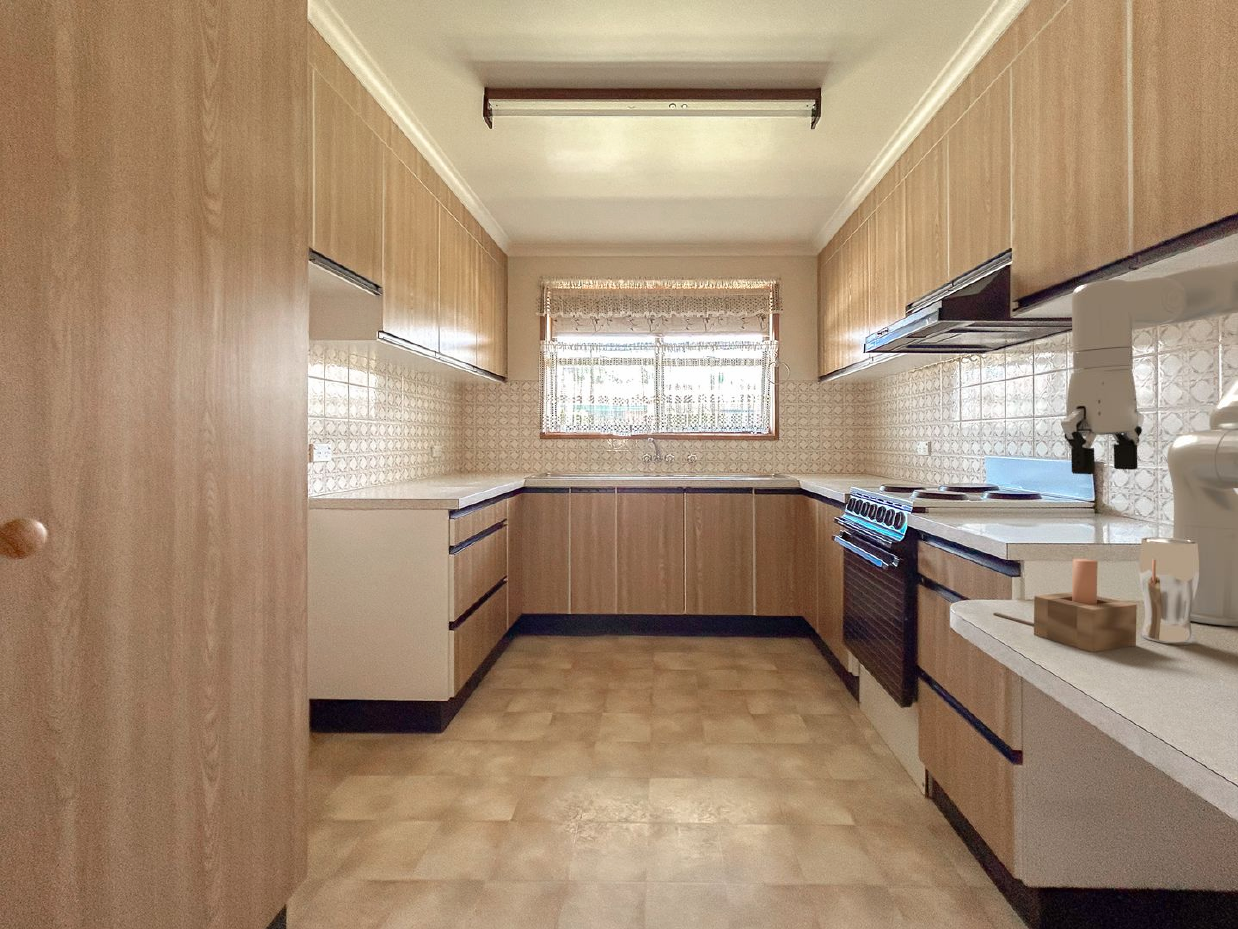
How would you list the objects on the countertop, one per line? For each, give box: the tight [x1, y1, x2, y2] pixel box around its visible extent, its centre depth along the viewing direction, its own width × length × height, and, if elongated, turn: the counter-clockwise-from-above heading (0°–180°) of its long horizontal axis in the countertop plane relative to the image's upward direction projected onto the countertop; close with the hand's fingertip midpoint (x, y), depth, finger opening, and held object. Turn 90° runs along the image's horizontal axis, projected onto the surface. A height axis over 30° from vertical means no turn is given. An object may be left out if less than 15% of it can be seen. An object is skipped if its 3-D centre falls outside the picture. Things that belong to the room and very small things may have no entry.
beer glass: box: [1138, 536, 1199, 646], centre depth 99 cm, size 7×7×15 cm
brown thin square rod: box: [992, 612, 1034, 627], centre depth 109 cm, size 1×10×1 cm, turn 19°
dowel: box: [1071, 558, 1098, 605], centre depth 99 cm, size 3×3×12 cm
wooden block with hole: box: [1033, 591, 1138, 653], centre depth 99 cm, size 9×9×6 cm
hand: (1104, 471), depth 104 cm, fingers open, 9 cm apart
